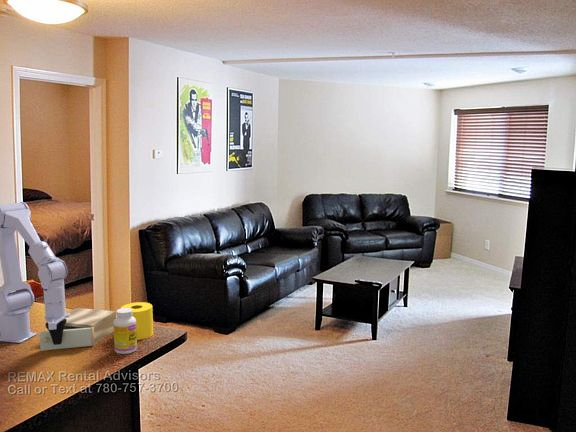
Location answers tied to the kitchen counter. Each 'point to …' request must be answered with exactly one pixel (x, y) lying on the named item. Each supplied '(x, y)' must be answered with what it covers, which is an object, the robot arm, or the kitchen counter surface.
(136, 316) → the yellow toilet paper roll
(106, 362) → the kitchen counter surface
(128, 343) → the supplement bottle
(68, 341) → the door
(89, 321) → the cabinet
